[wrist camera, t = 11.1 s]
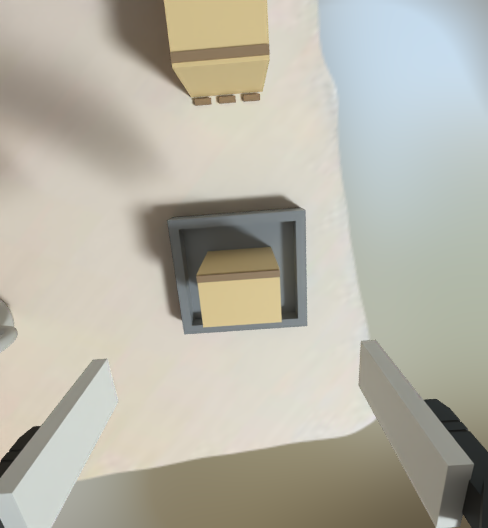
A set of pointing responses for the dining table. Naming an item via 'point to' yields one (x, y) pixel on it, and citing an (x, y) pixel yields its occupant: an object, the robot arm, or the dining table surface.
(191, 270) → the tray
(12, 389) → the dining table surface
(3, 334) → the mug
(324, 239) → the dining table surface
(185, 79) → the tan teal-banded block
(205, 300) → the plain tan block
